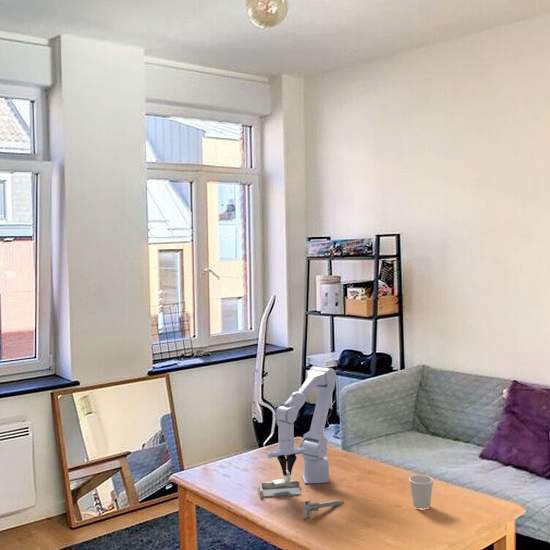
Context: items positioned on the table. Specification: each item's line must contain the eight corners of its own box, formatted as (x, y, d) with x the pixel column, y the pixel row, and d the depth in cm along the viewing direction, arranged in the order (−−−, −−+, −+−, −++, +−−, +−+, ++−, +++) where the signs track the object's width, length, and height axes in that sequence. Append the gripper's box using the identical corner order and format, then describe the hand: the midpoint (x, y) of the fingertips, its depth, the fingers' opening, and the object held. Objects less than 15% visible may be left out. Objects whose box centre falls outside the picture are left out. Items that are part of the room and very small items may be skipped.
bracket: (286, 480, 249) (286, 468, 249) (290, 484, 245) (289, 472, 245) (271, 483, 247) (271, 471, 247) (275, 486, 243) (274, 474, 243)
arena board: (298, 487, 251) (298, 486, 251) (301, 495, 243) (301, 493, 243) (261, 489, 250) (261, 488, 250) (263, 497, 242) (263, 496, 242)
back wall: (299, 486, 252) (299, 480, 252) (299, 487, 251) (299, 480, 251) (259, 488, 251) (259, 482, 251) (260, 489, 250) (260, 483, 250)
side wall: (261, 489, 250) (261, 483, 250) (263, 497, 242) (262, 490, 242) (258, 489, 250) (258, 483, 250) (260, 497, 242) (260, 491, 242)
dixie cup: (437, 505, 232) (436, 477, 231) (429, 513, 224) (429, 484, 224) (413, 500, 236) (413, 473, 235) (406, 509, 229) (405, 480, 228)
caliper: (305, 521, 222) (304, 502, 221) (302, 520, 222) (302, 501, 222) (344, 503, 236) (343, 485, 236) (341, 502, 237) (341, 485, 236)
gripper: (300, 433, 252) (301, 468, 253) (264, 437, 247) (265, 473, 248) (307, 438, 245) (308, 474, 246) (270, 443, 241) (271, 479, 241)
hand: (286, 474), depth 247 cm, fingers closed on bracket
